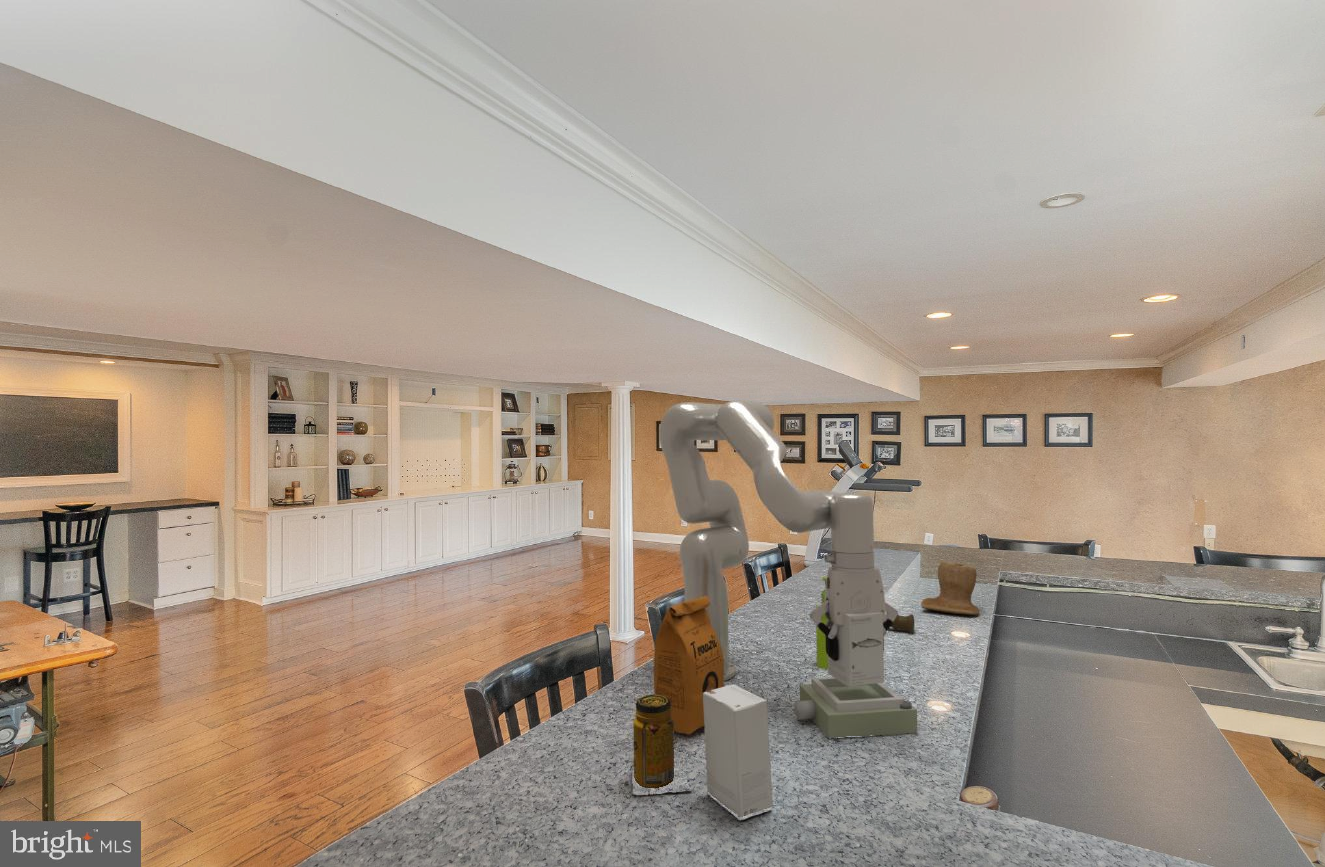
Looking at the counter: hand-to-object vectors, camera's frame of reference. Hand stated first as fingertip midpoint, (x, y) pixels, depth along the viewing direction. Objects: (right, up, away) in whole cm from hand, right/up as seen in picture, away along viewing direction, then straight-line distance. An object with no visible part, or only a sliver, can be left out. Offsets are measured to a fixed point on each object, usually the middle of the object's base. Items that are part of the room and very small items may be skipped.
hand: (855, 656), depth 113 cm
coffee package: (-30, -12, -1) cm, 32 cm away
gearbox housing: (-1, -11, 0) cm, 11 cm away
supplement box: (0, -4, 0) cm, 4 cm away
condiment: (-36, -11, -21) cm, 43 cm away
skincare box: (-25, -11, -27) cm, 38 cm away
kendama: (+23, -13, +56) cm, 62 cm away
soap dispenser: (+3, -12, +27) cm, 30 cm away
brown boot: (+52, -13, +73) cm, 90 cm away
